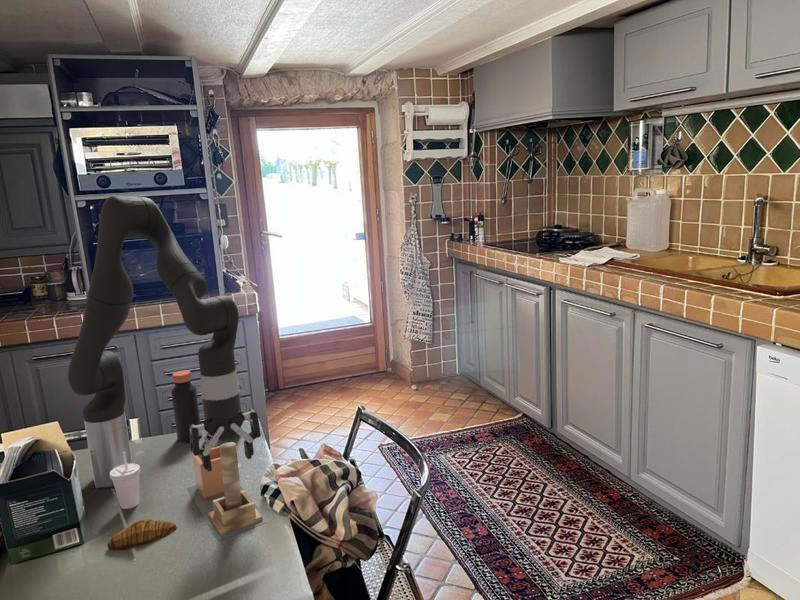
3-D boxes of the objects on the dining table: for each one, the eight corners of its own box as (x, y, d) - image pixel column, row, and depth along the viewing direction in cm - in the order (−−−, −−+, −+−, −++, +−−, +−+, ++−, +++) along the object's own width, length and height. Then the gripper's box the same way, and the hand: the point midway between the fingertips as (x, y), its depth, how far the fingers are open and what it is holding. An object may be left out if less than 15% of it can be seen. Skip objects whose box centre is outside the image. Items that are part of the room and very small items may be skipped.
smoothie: (134, 516, 130) (125, 459, 127) (109, 514, 132) (99, 458, 129) (151, 501, 136) (143, 446, 134) (127, 499, 138) (118, 445, 135)
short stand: (220, 535, 120) (218, 518, 119) (208, 515, 127) (206, 500, 127) (262, 519, 125) (260, 503, 124) (248, 501, 132) (246, 486, 131)
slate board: (218, 544, 118) (218, 540, 118) (187, 492, 140) (186, 488, 140) (269, 525, 124) (269, 521, 124) (232, 477, 146) (231, 474, 145)
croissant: (106, 560, 116) (102, 538, 115) (109, 542, 122) (105, 520, 121) (178, 542, 121) (175, 520, 120) (177, 525, 127) (174, 504, 126)
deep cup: (204, 500, 134) (200, 464, 132) (196, 488, 139) (192, 453, 138) (234, 490, 137) (230, 455, 136) (225, 479, 143) (221, 445, 141)
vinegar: (206, 435, 172) (198, 371, 168) (187, 444, 166) (179, 378, 162) (191, 431, 175) (183, 368, 171) (172, 439, 170) (163, 375, 166)
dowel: (229, 520, 124) (222, 450, 121) (224, 513, 126) (217, 445, 123) (245, 515, 125) (238, 446, 122) (240, 508, 128) (233, 440, 125)
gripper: (247, 379, 127) (255, 448, 130) (180, 395, 119) (190, 467, 123) (259, 389, 121) (267, 460, 124) (190, 405, 113) (199, 481, 117)
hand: (229, 463), depth 123 cm, fingers open, 8 cm apart
